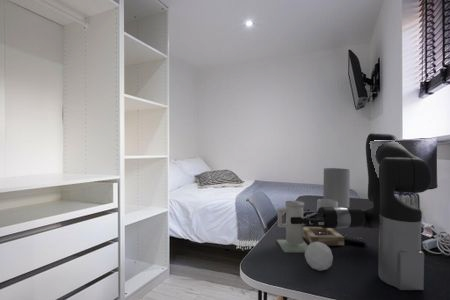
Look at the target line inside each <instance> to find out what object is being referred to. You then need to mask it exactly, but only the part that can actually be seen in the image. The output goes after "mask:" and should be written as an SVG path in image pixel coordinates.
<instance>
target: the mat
mask: <svg viewBox="0 0 450 300" xmlns="http://www.w3.org/2000/svg"><path fill="white" fill-rule="evenodd" d="M276 242H277V244H278V245H279V247H280V248H281V250H282V251H283V252H284V253H286V254H287V253H292V254H293V253H305V251H306V247H307V246H308V245H309V243H307V242H306V241H305V240H304V239H303V243H302V244H290V243H288V242H287V241H286V239H276Z"/></svg>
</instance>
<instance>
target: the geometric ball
mask: <svg viewBox="0 0 450 300" xmlns="http://www.w3.org/2000/svg"><path fill="white" fill-rule="evenodd" d="M304 258H305V260H306V263H307V264H308V265H309V266H310V268H312V269H313V270H317V271H319V272H321V271H325V270H329V268H330V267H331V266H332V265H333V259H334V255H333V253H332V250H331V248H330V247H329V245H326V244H323V243H321V242H313V243H308V246H307V247H306V251H305V252H304Z"/></svg>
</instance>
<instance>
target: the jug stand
mask: <svg viewBox="0 0 450 300" xmlns="http://www.w3.org/2000/svg"><path fill="white" fill-rule="evenodd" d="M314 232H325V233H329V234H331V235H315V234H314ZM303 239H305V240H306V241H307V242H308V244H310V243H313V242H321V243H323V244H326V245H327V246H345V236H344V235H342V234H341V233H339V232H338V231H336V230H334V228H322V227H307V226H303Z"/></svg>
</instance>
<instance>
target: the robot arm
mask: <svg viewBox="0 0 450 300" xmlns="http://www.w3.org/2000/svg"><path fill="white" fill-rule="evenodd" d="M374 140H398V137H397V136H396V135H395V134H391V133H390V134H389V133H374V132H371V133H369V134H368V135H367V138H366V141H365V157H366V167H367V168H366V169H367V179H368V181H367V182H368V183H367V199H368V201H370V202H371V203H373V204H372V205H373V206H372V207H371V208H368V209H362V208H359V207H350V206H349V207H320V208H319V209H318V211H317V210H316V211H315V210H310V209H309V208H308V209H303V217H291V220H290V222H291V224H302V225H303V226H305V227H322V228H332V229H345V228H365V229H378V231H379V232H378V234H379V235H378V236H379V237H378V278H379V279H380V280H381V281H382V282H383V283H385V284H387V285H389V286H393V287H394V288H396V289H398V290H400V291H424V287H425V286H424V285H425V282H424V281H425V279H424V278H425V253H424V252H423V251H422V223H423V222H422V219H423V217H422V216H423V212H422V210H421V209H420V208H419V207H416V206H415V205H412V204H410V203H407V202H404V201H403V200H400V199H399V198H398V197H396V195H395V193H408V194H420V193H424V192H426V191H427V190H428V189H429V188H430V187H431V184H432V181H433V180H432V179H433V177H432V172H431V168H430V167H429V164H428V163H427V161H425V160H424V159H422V158H421V157H418V156H416V155H414V154H412V153H411V152H410V151H408V150H407V149H406V147H405V146H403V145H402V144H401V143H400V142H399V143H400V144H399V143H398V142H395V141H391V142H386V143H384V144H382V145H381V146H379V147H378V149H377V151H376V155H375V158H376V161H377V163H378V164H379V178H378V177H377V174H376V172H375V168H374V165H373V162H372V158H371V149H370V144H369V143H370V141H374ZM398 141H399V140H398ZM284 215H285V216H284V217H285V219H286V212H284Z"/></svg>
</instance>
